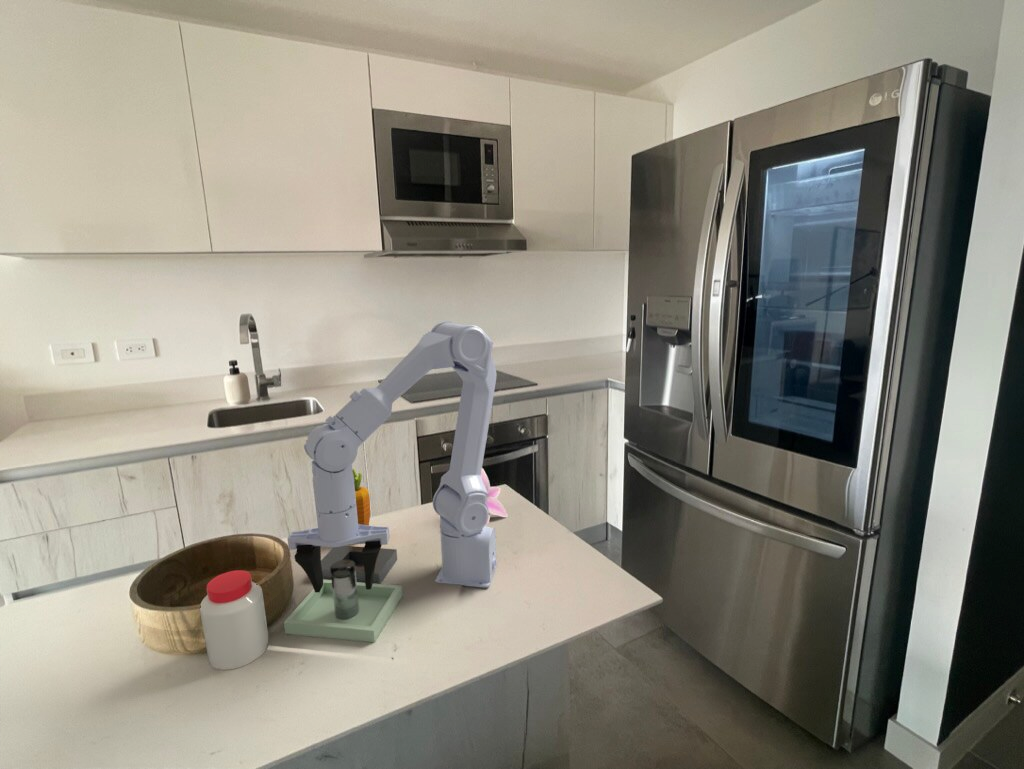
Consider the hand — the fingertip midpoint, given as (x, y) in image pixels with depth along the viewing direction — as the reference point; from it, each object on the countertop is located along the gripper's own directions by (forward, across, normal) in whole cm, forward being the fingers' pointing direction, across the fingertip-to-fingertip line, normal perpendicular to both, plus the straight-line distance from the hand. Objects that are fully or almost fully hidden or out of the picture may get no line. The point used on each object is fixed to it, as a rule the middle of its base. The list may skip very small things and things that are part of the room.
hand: (344, 587), depth 80 cm
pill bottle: (+5, +14, +6) cm, 16 cm away
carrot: (+5, +3, -23) cm, 24 cm away
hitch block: (+5, +1, -13) cm, 14 cm away
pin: (+4, 0, 0) cm, 5 cm away
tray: (+5, 0, 0) cm, 5 cm away
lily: (+6, -22, -31) cm, 38 cm away
